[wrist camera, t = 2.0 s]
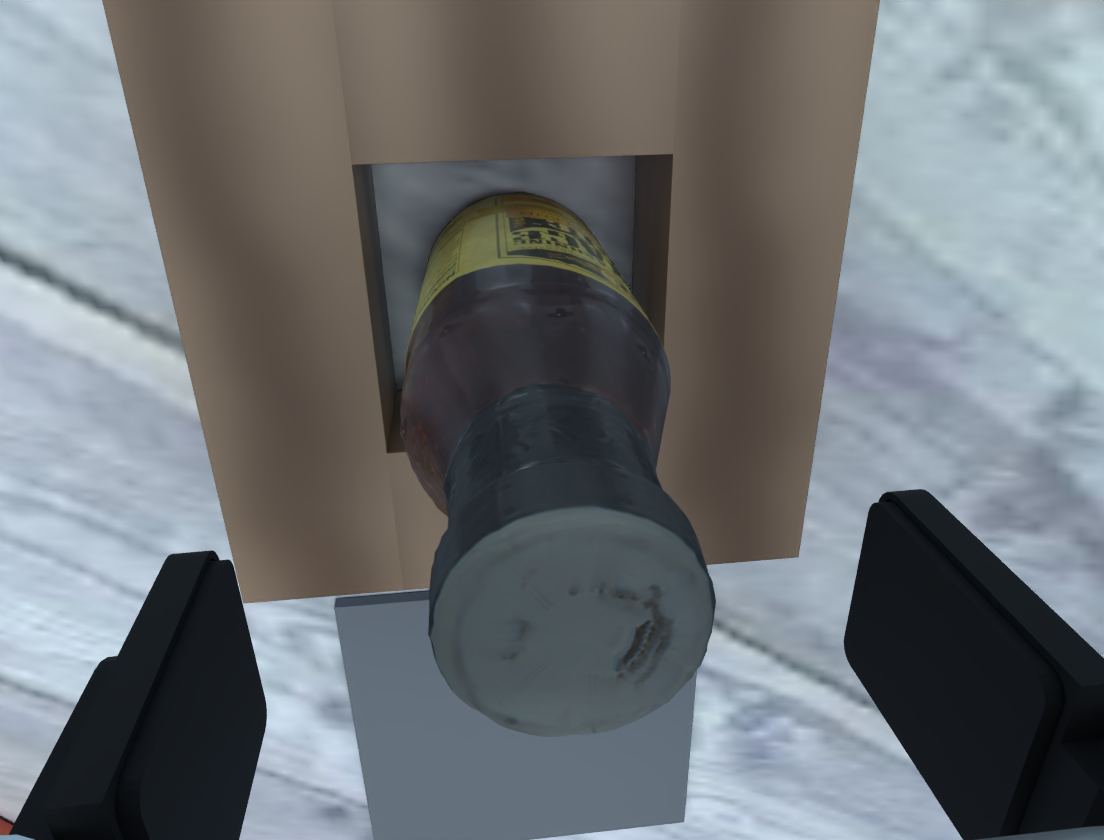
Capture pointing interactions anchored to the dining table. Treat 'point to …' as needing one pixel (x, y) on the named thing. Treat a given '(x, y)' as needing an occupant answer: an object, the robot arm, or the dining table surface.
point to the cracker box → (5, 827)
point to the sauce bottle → (548, 478)
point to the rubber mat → (491, 747)
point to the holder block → (489, 134)
